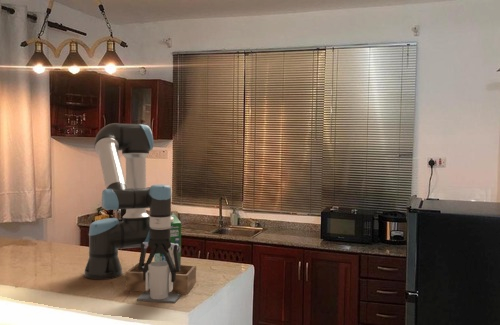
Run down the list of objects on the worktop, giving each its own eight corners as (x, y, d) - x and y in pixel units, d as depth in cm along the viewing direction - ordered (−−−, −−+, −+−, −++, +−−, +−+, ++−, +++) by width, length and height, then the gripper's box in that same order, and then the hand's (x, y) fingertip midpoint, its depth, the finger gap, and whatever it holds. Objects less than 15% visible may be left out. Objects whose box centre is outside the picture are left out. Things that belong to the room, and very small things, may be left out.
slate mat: (136, 300, 158) (136, 299, 158) (144, 293, 166) (144, 291, 165) (174, 302, 156) (174, 301, 156) (180, 295, 164) (180, 293, 164)
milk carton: (159, 277, 185) (160, 218, 184) (154, 272, 193) (154, 215, 192) (180, 275, 189) (181, 217, 188) (174, 269, 197) (174, 214, 196)
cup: (149, 292, 164) (149, 260, 164) (171, 292, 165) (171, 260, 165) (146, 300, 156) (146, 266, 156) (169, 300, 157) (169, 266, 157)
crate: (125, 290, 168) (125, 272, 168) (138, 279, 182) (139, 262, 182) (187, 293, 166) (187, 275, 166) (195, 282, 180) (196, 265, 179)
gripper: (128, 228, 157) (127, 291, 158) (185, 230, 155) (184, 294, 156) (136, 224, 165) (135, 285, 166) (190, 226, 162) (189, 288, 163)
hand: (159, 289), depth 161 cm, fingers open, 8 cm apart
